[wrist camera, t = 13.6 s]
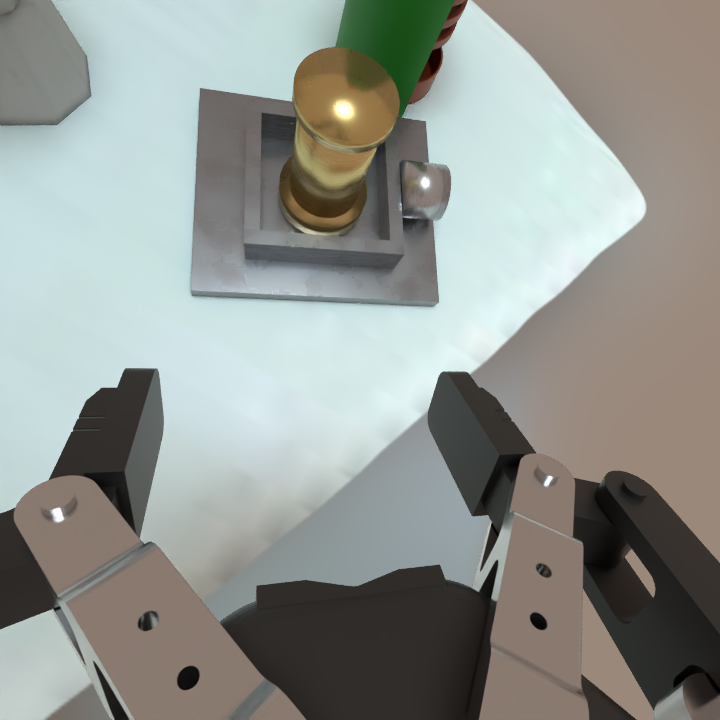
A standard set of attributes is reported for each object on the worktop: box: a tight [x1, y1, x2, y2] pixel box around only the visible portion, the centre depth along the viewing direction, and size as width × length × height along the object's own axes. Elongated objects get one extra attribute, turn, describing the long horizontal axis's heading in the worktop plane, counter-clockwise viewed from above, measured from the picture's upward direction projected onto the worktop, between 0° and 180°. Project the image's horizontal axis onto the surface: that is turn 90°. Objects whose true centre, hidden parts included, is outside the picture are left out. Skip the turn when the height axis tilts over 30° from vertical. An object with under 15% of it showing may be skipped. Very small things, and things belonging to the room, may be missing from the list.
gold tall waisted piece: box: [278, 47, 400, 236], centre depth 28 cm, size 6×6×10 cm
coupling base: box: [191, 88, 451, 306], centre depth 32 cm, size 18×16×5 cm
